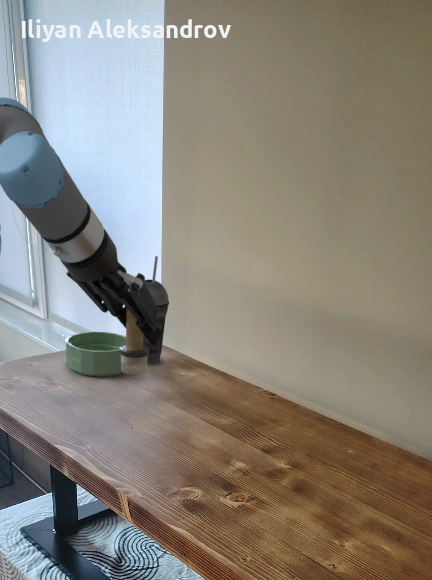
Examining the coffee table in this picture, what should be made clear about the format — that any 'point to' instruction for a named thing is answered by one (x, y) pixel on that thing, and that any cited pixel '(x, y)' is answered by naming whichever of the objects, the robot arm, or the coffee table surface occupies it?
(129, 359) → the dowel on round base
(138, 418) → the coffee table surface
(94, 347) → the bowl
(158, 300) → the beverage cup
